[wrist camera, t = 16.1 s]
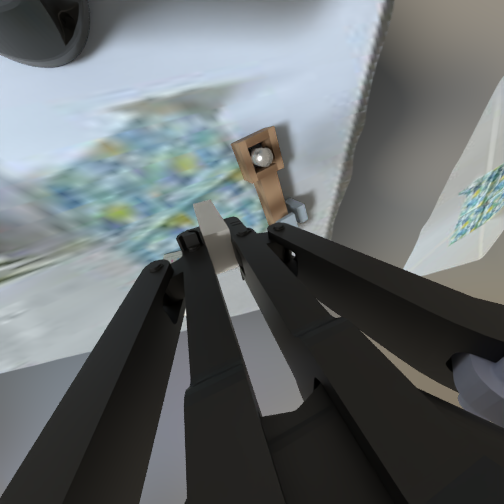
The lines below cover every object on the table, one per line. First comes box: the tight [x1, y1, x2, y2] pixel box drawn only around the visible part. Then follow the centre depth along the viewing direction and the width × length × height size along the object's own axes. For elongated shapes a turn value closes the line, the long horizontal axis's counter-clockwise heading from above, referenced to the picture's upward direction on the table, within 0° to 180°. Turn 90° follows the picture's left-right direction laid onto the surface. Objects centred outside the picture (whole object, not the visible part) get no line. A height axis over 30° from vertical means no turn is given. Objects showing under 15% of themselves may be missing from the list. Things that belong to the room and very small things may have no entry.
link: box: [231, 126, 288, 226], centre depth 38 cm, size 20×7×5 cm, turn 22°
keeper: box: [276, 198, 308, 228], centre depth 42 cm, size 8×8×8 cm
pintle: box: [248, 148, 273, 167], centre depth 33 cm, size 3×3×8 cm
